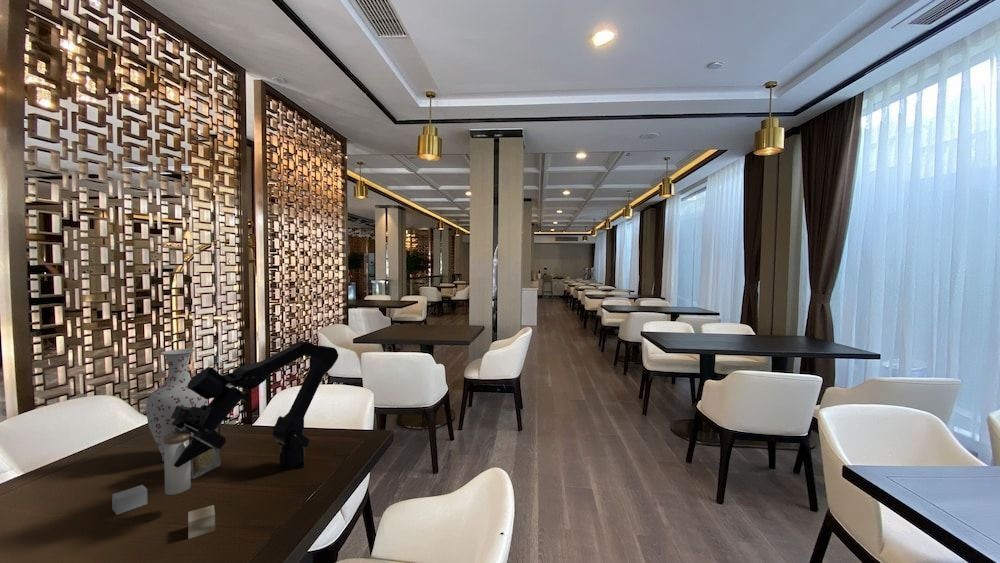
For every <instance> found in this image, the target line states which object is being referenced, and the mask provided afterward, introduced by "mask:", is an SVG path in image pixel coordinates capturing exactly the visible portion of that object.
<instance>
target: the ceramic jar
mask: <svg viewBox="0 0 1000 563" xmlns="http://www.w3.org/2000/svg"><path fill="white" fill-rule="evenodd" d="M189 436H191V432H190V431H178V432H173V433H170V434H167V435H165V436H164V461H163V462H164V468H163V469H164V493H165V495H168V496H169V495H170V496H173V495H178V494H181V493H184V492H186V491H187V490H189V489H190V488H191V487H192V482H191V481H192V479H191V460H190V461H188V462H187V463H185V464H183V465H181V466H180V467H175V466H174V464H175V463H176V461H177V460H178V458H179V457H180V455H181V454H182V453H183V451H184V450H185V449H186V447H187V446H188V444H189Z"/></svg>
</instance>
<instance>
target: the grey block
mask: <svg viewBox="0 0 1000 563" xmlns="http://www.w3.org/2000/svg"><path fill="white" fill-rule="evenodd" d="M111 499H112V500H111V502H112V503H111V510H112V511H113V512H114V513H115V515H121V514H123V513H126V512H128V511H131V510H134V509H137V508H140V507H143V506H145V505H148V488H147V487H146V486H144V485H143V484H141V485H137V486H134V487H131V488H129V489H126V490H122V491H120V492H115V493H112V495H111Z"/></svg>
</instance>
